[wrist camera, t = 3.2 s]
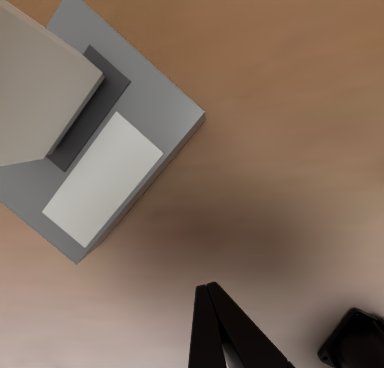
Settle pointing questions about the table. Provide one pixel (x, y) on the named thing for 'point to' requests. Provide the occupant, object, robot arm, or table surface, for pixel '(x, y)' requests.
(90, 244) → the box
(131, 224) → the table surface
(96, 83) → the handle
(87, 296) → the table surface
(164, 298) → the table surface
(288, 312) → the table surface
